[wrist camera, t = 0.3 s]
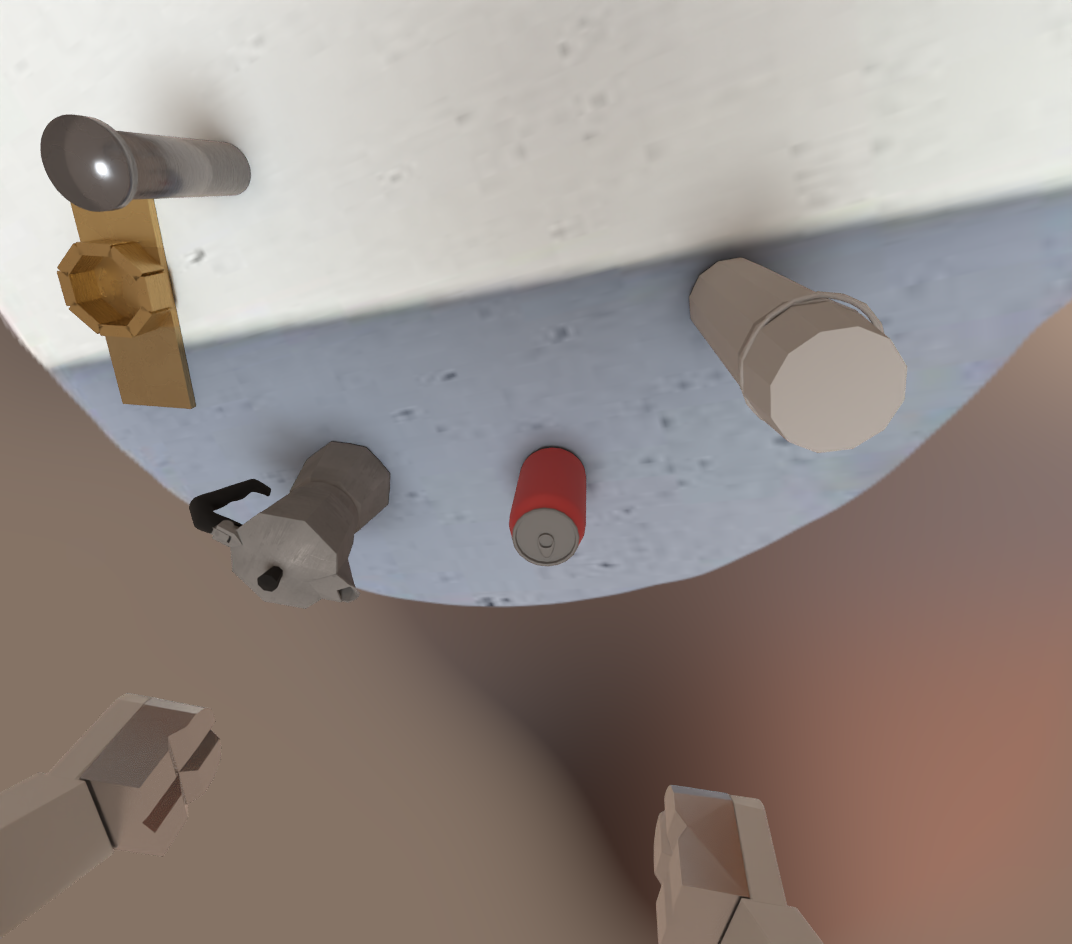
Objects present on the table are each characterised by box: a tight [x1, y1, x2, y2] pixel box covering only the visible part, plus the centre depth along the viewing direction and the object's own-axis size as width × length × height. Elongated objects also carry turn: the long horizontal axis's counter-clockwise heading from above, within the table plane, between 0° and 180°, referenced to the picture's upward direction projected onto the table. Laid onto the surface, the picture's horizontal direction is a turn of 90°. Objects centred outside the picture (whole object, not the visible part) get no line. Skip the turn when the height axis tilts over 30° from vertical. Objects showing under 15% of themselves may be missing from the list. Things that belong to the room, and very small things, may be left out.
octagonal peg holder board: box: [57, 199, 196, 409], centre depth 54 cm, size 23×8×4 cm, turn 177°
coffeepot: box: [189, 441, 390, 609], centre depth 55 cm, size 15×9×18 cm, turn 59°
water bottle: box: [689, 258, 907, 453], centre depth 41 cm, size 9×8×25 cm
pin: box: [41, 115, 251, 212], centre depth 44 cm, size 5×5×16 cm
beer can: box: [509, 448, 586, 566], centre depth 55 cm, size 7×7×12 cm
